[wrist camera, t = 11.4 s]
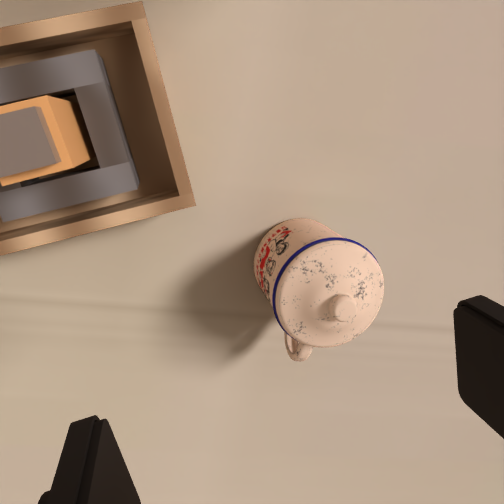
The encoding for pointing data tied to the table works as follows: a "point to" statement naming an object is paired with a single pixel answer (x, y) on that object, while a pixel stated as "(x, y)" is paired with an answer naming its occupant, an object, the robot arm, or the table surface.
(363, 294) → the teacup with lid
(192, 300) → the table surface
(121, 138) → the oak box
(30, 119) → the block
